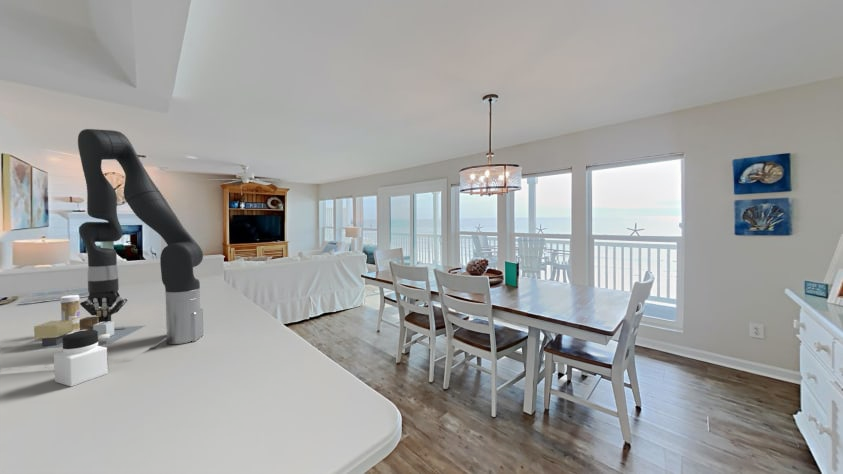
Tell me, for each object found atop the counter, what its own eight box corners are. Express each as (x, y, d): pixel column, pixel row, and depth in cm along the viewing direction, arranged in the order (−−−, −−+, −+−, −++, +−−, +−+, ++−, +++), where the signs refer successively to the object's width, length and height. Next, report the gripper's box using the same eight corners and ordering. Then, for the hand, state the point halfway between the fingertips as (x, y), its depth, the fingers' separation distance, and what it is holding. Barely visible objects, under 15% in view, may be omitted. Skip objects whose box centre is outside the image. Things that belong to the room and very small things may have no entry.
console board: (146, 329, 114) (146, 316, 114) (110, 348, 97) (109, 333, 97) (80, 333, 110) (79, 320, 109) (30, 354, 92) (29, 339, 92)
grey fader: (114, 334, 104) (113, 320, 104) (106, 337, 101) (106, 324, 101) (101, 335, 104) (101, 321, 103) (93, 338, 100) (93, 324, 100)
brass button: (72, 331, 100) (72, 319, 100) (57, 337, 95) (56, 325, 94) (51, 332, 99) (50, 321, 98) (34, 338, 93) (34, 326, 93)
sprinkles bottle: (78, 333, 110) (76, 296, 109) (59, 335, 107) (57, 298, 107) (82, 329, 114) (81, 294, 113) (64, 332, 111) (63, 295, 111)
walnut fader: (100, 328, 110) (99, 315, 110) (92, 331, 107) (91, 318, 106) (88, 329, 109) (87, 316, 109) (79, 332, 106) (79, 319, 106)
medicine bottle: (108, 373, 81) (107, 329, 80) (70, 387, 74) (68, 338, 73) (92, 369, 83) (91, 325, 82) (54, 382, 76) (52, 334, 76)
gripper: (132, 275, 114) (134, 321, 114) (89, 277, 110) (91, 324, 111) (118, 279, 106) (119, 328, 107) (70, 280, 103) (73, 331, 104)
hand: (105, 326), depth 109 cm, fingers closed
